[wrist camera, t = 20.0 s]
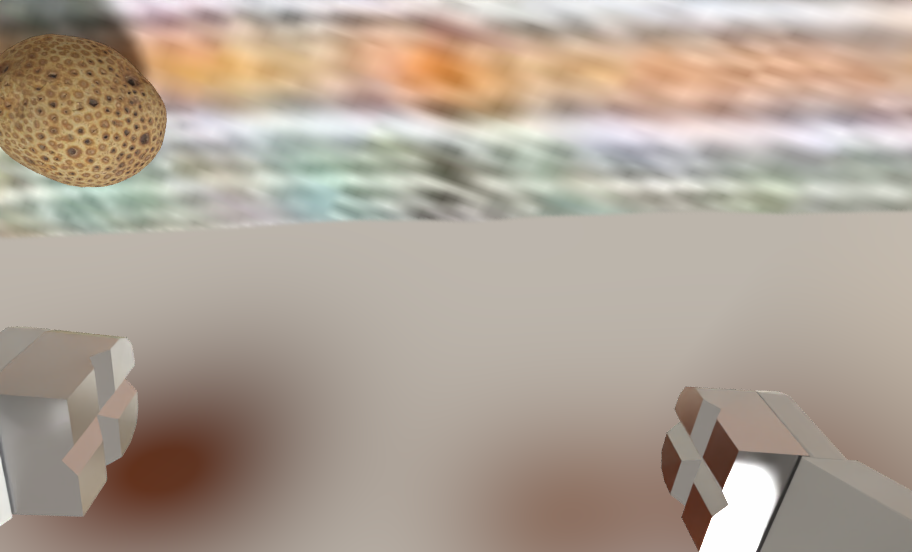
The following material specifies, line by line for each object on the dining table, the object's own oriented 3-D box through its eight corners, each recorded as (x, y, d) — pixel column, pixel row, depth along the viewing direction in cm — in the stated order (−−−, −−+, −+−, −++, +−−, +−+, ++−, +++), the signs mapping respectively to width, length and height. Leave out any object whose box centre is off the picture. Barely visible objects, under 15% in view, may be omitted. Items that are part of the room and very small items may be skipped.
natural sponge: (190, 46, 42) (126, 62, 33) (185, 176, 45) (126, 224, 36) (43, 15, 41) (-66, 23, 32) (49, 151, 44) (-47, 194, 35)
